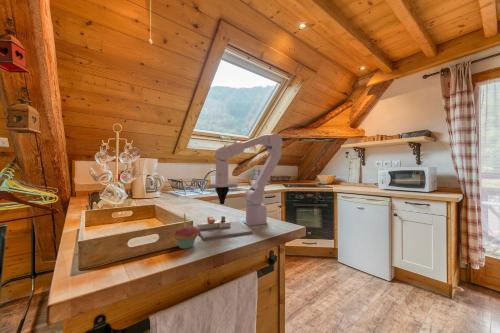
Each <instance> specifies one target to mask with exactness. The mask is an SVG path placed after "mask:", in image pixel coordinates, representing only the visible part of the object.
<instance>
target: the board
mask: <svg viewBox="0 0 500 333" xmlns="http://www.w3.org/2000/svg"><path fill="white" fill-rule="evenodd" d="M230 222H231V227H225V228H210V229H202V230H198V228H197V225H195V226H194V227H196V228H197V230H198V235H199V236H200V237H201V239H203V241H209V240H216V239H222V238H229V237H230V238H231V237H237V236H243V235H252V234H253V232H254V231H253V230H252V229H251V228H249V227H247V226H245V225H244V224H243V223H242V222H239V221H238V220H237V221H230Z"/></svg>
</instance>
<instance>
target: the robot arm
mask: <svg viewBox="0 0 500 333" xmlns="http://www.w3.org/2000/svg"><path fill="white" fill-rule="evenodd" d="M283 143H284V141H283V139H282V136H281V134H279V133H278V132H272V133H268V134H267V133H266V134H263V135H259V136H257V137H254V138H251V139H248V140H247V141H243V142H241V141H239V140H237V141H236V140H234V141H233V142H232V143H230V144H228V145H227V144H224V145H223V146H221V147H219V148H217V149H216V150H215V152H214V157H215V183H205V189H206V190H210V189H214V190H215V192H216V194H217V197H218V200H219V204H220V205H224V204H225V200H226V198H227V195H228V193H229V191H230V188H231V189H232V188H235V189H237V188H238V183H237V182H229V159H230V158H233V157H235V156H238V155H240V154H244V151H245V150H246V149H248V148H251V147H252V148H253V147H255V146H258V145H261V146H264V147H265V148H266V150H267V151H268V154H269V155H268V157H267V159H266V161H265V163H264V164H263V166H262V169H261V171H260V172H259V175H257V178H256V179H255V181H254V183H253V184H252V185H251V186H250V187H249V189H247V190H246V191H245V193H244V198H245V200H246V203H245V220H244V219H243V220H242V222H243V223H245V224H246V225H247V226H257V225H265V224H268V221H267V219H268V218H267V216H268V215H267V213H268V212H267V211H268V210H267V206H266V204H265V203H262V202H263V200H264V194H265V188H266V186H267V184H268V182H269V180H270V178H271V176H272V174H273V172H274V170H275V168H276V167H277V165H278V163H279V161H280V159H281V157H282V151H283V150H282V148H283Z"/></svg>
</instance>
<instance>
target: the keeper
mask: <svg viewBox="0 0 500 333" xmlns="http://www.w3.org/2000/svg"><path fill="white" fill-rule="evenodd" d="M206 219H207V222H210V223H213V222H215V221H216V219H215V218H214V217H213V216H212V215H210V216H207V218H206Z"/></svg>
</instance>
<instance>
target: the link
mask: <svg viewBox="0 0 500 333" xmlns="http://www.w3.org/2000/svg"><path fill="white" fill-rule="evenodd" d="M231 222H232V221H230V220H228V219H226V218H225V222H221V219H216V220H215V222H213V223H210V222H208V221H206V222H204V221H203V222H197V223H196V226H197V228H198V230H202V229H210V228H225V227H231Z"/></svg>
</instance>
